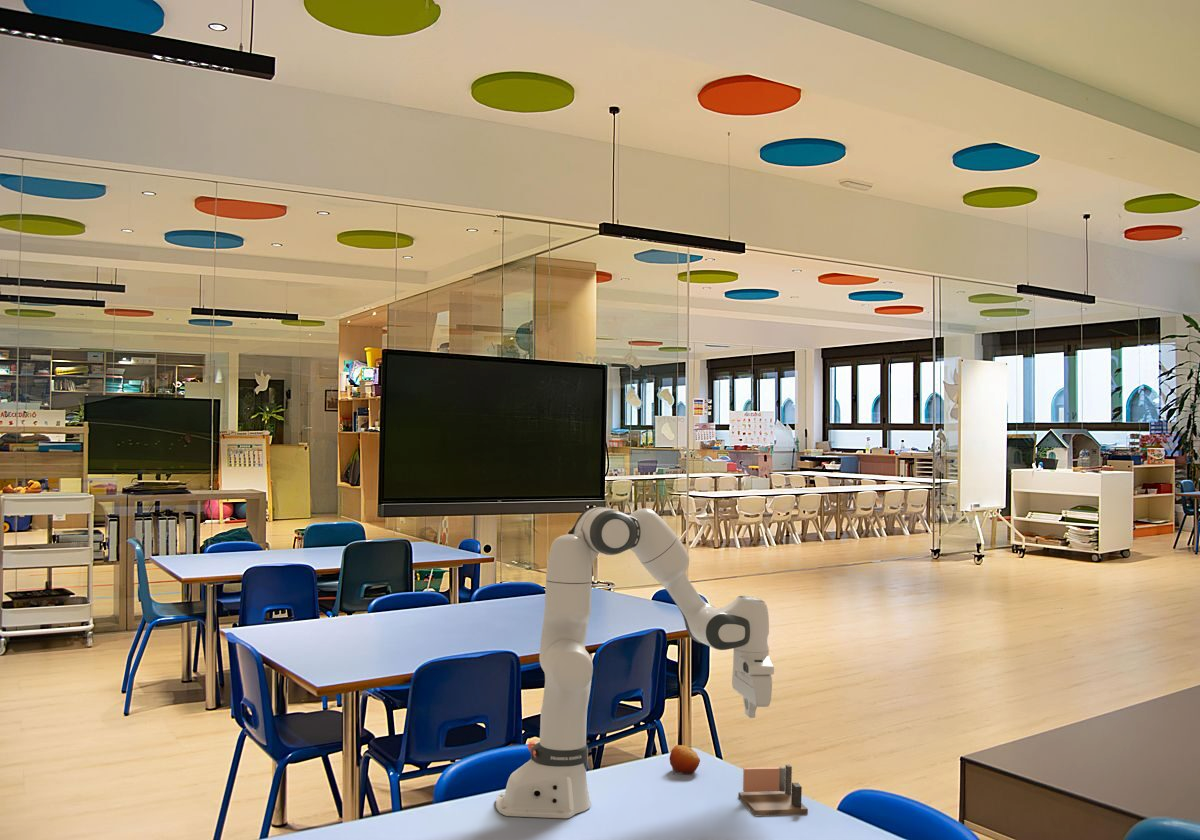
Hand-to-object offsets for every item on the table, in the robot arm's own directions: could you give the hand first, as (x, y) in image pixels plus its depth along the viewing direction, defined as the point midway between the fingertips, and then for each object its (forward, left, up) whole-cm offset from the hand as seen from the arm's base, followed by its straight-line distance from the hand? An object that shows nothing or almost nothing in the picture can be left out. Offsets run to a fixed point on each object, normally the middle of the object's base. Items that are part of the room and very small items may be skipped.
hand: (750, 716), depth 242 cm
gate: (+2, -5, -17) cm, 18 cm away
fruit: (-12, +17, -19) cm, 28 cm away
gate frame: (+3, -10, -19) cm, 21 cm away
